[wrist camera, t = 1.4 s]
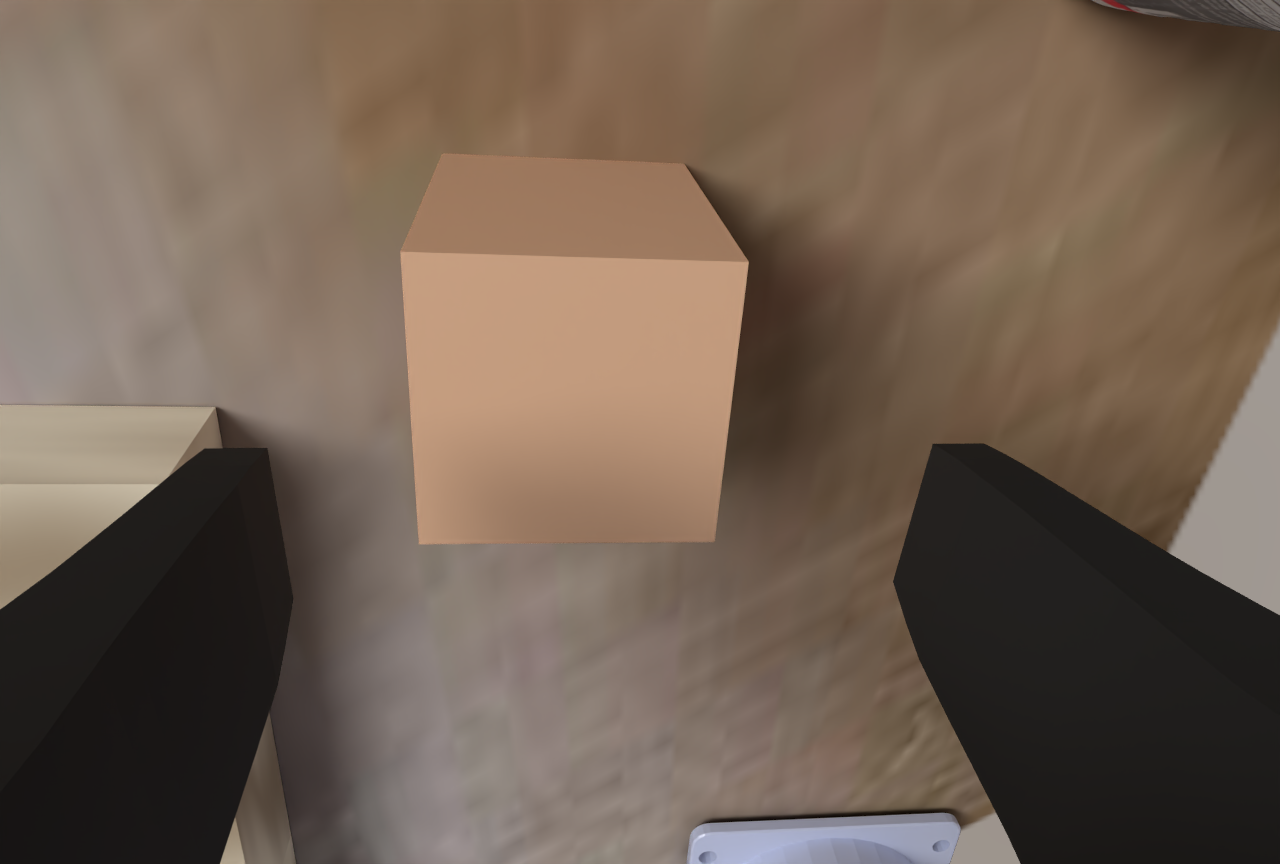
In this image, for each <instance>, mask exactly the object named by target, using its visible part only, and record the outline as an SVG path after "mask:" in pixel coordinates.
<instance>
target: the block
mask: <svg viewBox="0 0 1280 864" xmlns="http://www.w3.org/2000/svg"><path fill="white" fill-rule="evenodd" d="M748 265H749V262H748V260H747V259H746V257H745V255H744V254H743V252H742V251H741V249H740V248H739V246H738V245H737V243H736V242H735V240H734V239H733V237H732V236H731V234H730V233H729V231H728V230H727V228H726V227H725V225H724V224H723V222H722V221H721V219H720V217H719V216H718V214H717V213H716V211H715V210H714V208H713V207H712V205H711V204H710V202H709V201H708V199H707V198H706V196H705V195H704V193H703V192H702V190H701V189H700V187H699V186H698V184H697V183H696V181H695V180H694V178H693V176H692V175H691V173H690V172H689V170H688V169H687V167H686V166H685V164H679V163H656V162H632V161H609V160H585V159H562V158H538V157H515V156H491V155H468V154H444V153H442V155H441V158H440V160H439V162H438V165H437V167H436V169H435V172H434V174H433V176H432V179H431V181H430V183H429V186H428V188H427V191H426V193H425V195H424V198H423V200H422V202H421V205H420V207H419V209H418V212H417V214H416V216H415V219H414V221H413V223H412V226H411V228H410V231H409V233H408V235H407V238H406V240H405V242H404V245H403V247H402V249H401V268H402V284H403V299H404V315H405V331H406V347H407V363H408V378H409V394H410V410H411V426H412V442H413V457H414V473H415V489H416V505H417V521H418V536H419V544H513V543H643V542H715V534H716V526H717V518H718V509H719V501H720V493H721V485H722V477H723V469H724V461H725V452H726V444H727V436H728V428H729V420H730V412H731V403H732V395H733V387H734V379H735V371H736V363H737V355H738V346H739V338H740V330H741V322H742V314H743V306H744V298H745V289H746V281H747V273H748Z"/></svg>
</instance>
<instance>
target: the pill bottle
mask: <svg viewBox="0 0 1280 864" xmlns="http://www.w3.org/2000/svg"><path fill="white" fill-rule="evenodd" d="M1092 1H1094V2H1096V3H1098V4H1101V5H1104V6H1108V7H1112V8H1116V9H1121V10H1126V11H1132V12H1137V13H1142V14H1148V15H1154V16H1158V17H1172V18H1178V19H1184V20H1191V21H1200V22H1211V23H1218V24H1222V25H1230V26H1239V27H1248V28H1257V29H1264V30H1271V31H1278V32H1280V0H1092Z"/></svg>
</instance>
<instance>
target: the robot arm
mask: <svg viewBox="0 0 1280 864" xmlns="http://www.w3.org/2000/svg"><path fill="white" fill-rule="evenodd" d="M893 583H894V586H895V589H896V592H897V595H898V599H899V602H900V605H901V608H902V611H903V614H904V617H905V621H906V624H907V627H908V629H909V632H910V635H911V638H912V640H913V643H914V646H915V649H916V652H917V654H918V657H919V660H920V662H921V664H922V666H923V668H924V670H925V672H926V674H927V676H928V678H929V681H930V683H931V685H932V687H933V689H934V691H935V693H936V695H937V697H938V699H939V701H940V703H941V705H942V707H943V709H944V711H945V713H946V715H947V717H948V719H949V721H950V723H951V725H952V727H953V729H954V731H955V733H956V735H957V737H958V738H959V740H960V742H961V744H962V746H963V748H964V750H965V752H966V754H967V756H968V758H969V760H970V762H971V764H972V766H973V768H974V770H975V772H976V774H977V776H978V778H979V780H980V782H981V784H982V786H983V788H984V790H985V792H986V794H987V796H988V797H989V799H990V801H991V803H992V805H993V807H994V809H995V811H996V813H997V815H998V817H999V819H1000V821H1001V823H1002V825H1003V827H1004V829H1005V831H1006V833H1007V835H1008V837H1009V839H1010V841H1011V843H1012V846H1013V848H1014V850H1015V852H1016V854H1017V857H1018V859H1019V861H1020V863H1021V864H1280V615H1278V614H1276V613H1274V612H1272V611H1271V610H1269V609H1267V608H1265V607H1263V606H1261V605H1259V604H1258V603H1256V602H1254V601H1252V600H1250V599H1248V598H1247V597H1245V596H1243V595H1241V594H1240V593H1238V592H1236V591H1234V590H1232V589H1230V588H1229V587H1227V586H1225V585H1223V584H1222V583H1220V582H1218V581H1216V580H1214V579H1213V578H1211V577H1209V576H1207V575H1205V574H1203V573H1202V572H1200V571H1198V570H1197V569H1195V568H1193V567H1192V566H1190V565H1188V564H1186V563H1185V562H1183V561H1181V560H1180V559H1178V558H1176V557H1174V556H1173V555H1171V554H1169V553H1168V552H1166V551H1164V550H1163V549H1161V548H1159V547H1158V546H1156V545H1154V544H1153V543H1151V542H1149V541H1148V540H1146V539H1144V538H1143V537H1141V536H1139V535H1138V534H1136V533H1135V532H1133V531H1131V530H1130V529H1128V528H1126V527H1125V526H1123V525H1121V524H1120V523H1118V522H1117V521H1115V520H1113V519H1112V518H1110V517H1108V516H1107V515H1105V514H1104V513H1102V512H1100V511H1099V510H1097V509H1095V508H1094V507H1092V506H1091V505H1089V504H1087V503H1086V502H1084V501H1083V500H1081V499H1079V498H1078V497H1076V496H1074V495H1073V494H1071V493H1070V492H1068V491H1066V490H1065V489H1063V488H1061V487H1060V486H1058V485H1057V484H1055V483H1053V482H1052V481H1050V480H1048V479H1047V478H1045V477H1043V476H1042V475H1040V474H1038V473H1037V472H1035V471H1033V470H1032V469H1030V468H1028V467H1027V466H1025V465H1023V464H1021V463H1020V462H1018V461H1016V460H1014V459H1013V458H1011V457H1009V456H1007V455H1005V454H1003V453H1002V452H1000V451H998V450H996V449H994V448H992V447H990V446H988V445H985V444H933V445H932V449H931V452H930V456H929V459H928V463H927V466H926V470H925V473H924V476H923V480H922V483H921V487H920V490H919V494H918V497H917V501H916V504H915V508H914V511H913V515H912V518H911V521H910V525H909V528H908V532H907V535H906V539H905V542H904V546H903V549H902V553H901V556H900V560H899V563H898V566H897V570H896V573H895V577H894V580H893ZM292 603H293V594H292V589H291V583H290V577H289V571H288V566H287V560H286V554H285V548H284V542H283V537H282V531H281V525H280V519H279V514H278V508H277V502H276V496H275V491H274V485H273V479H272V473H271V467H270V462H269V456H268V450H267V448H204V449H203V450H202V451H200V452H199V453H198V454H196V455H195V456H194V457H192V458H191V459H190V460H188V461H187V462H186V463H185V464H183V465H182V466H181V467H180V468H179V469H177V470H176V471H175V472H174V473H172V474H171V475H170V476H169V477H168V478H166V479H165V480H164V481H163V482H161V483H160V484H159V485H158V486H157V487H155V488H154V489H153V490H152V491H151V492H149V493H148V494H147V495H146V496H145V497H143V498H142V499H141V500H140V501H139V502H137V503H136V504H135V505H134V506H133V507H131V508H130V509H129V510H128V511H127V512H125V513H124V514H123V515H122V516H120V517H119V518H118V519H117V520H116V521H114V522H113V523H112V524H111V525H109V526H108V527H107V528H106V529H104V530H103V531H102V532H101V533H99V534H98V535H97V536H96V537H94V538H93V539H92V540H91V541H89V542H88V543H87V544H86V545H84V546H83V547H82V548H81V549H79V550H78V551H77V552H76V553H74V554H73V555H72V556H71V557H70V558H68V559H67V560H66V561H65V562H63V563H62V564H61V565H60V566H58V567H57V568H56V569H54V570H53V571H52V572H50V573H49V574H48V575H46V576H45V577H44V578H42V579H41V580H40V581H38V582H37V583H35V584H34V585H33V586H31V587H30V588H29V589H27V590H26V591H25V592H23V593H22V594H21V595H19V596H18V597H16V598H15V599H14V600H12V601H11V602H10V603H8V604H7V605H6V606H4V607H3V608H1V609H0V864H220V862H221V859H222V856H223V853H224V850H225V847H226V844H227V841H228V838H229V835H230V832H231V828H232V825H233V822H234V819H235V816H236V813H237V810H238V807H239V804H240V801H241V798H242V795H243V792H244V789H245V786H246V783H247V779H248V776H249V773H250V770H251V767H252V764H253V761H254V758H255V755H256V752H257V749H258V746H259V742H260V739H261V736H262V733H263V730H264V727H265V724H266V720H267V717H268V714H269V711H270V708H271V705H272V701H273V698H274V695H275V692H276V688H277V685H278V680H279V675H280V670H281V665H282V660H283V654H284V649H285V644H286V638H287V632H288V626H289V621H290V615H291V609H292ZM960 832H961V828H960V826H959V823H958V821H957V819H956V818H955V816H954V815H952V814H950V813H924V814H902V815H879V816H857V817H834V818H812V819H789V820H766V821H744V822H721V823H706V824H702V825H700V826H698V827H696V828H695V829H694V830H693V831H692V833H691V835H690V841H689V848H688V856H687V864H950V862H951V859H952V856H953V853H954V850H955V847H956V844H957V841H958V838H959V835H960Z"/></svg>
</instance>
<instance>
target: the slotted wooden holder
mask: <svg viewBox="0 0 1280 864" xmlns="http://www.w3.org/2000/svg"><path fill="white" fill-rule="evenodd" d="M204 448H223V447H222V441H221V435H220V430H219V424H218V418H217V413H216V407H163V406H61V405H0V609H1V608H3V607H4V606H6V605H7V604H8V603H10V602H11V601H12V600H14V599H15V598H16V597H18V596H19V595H21V594H22V593H23V592H25V591H26V590H27V589H29V588H30V587H31V586H33V585H34V584H35V583H37V582H38V581H40V580H41V579H42V578H44V577H45V576H46V575H48V574H49V573H50V572H52V571H53V570H54V569H56V568H57V567H58V566H60V565H61V564H62V563H63V562H65V561H66V560H67V559H68V558H70V557H71V556H72V555H73V554H74V553H76V552H77V551H78V550H79V549H81V548H82V547H83V546H84V545H86V544H87V543H88V542H89V541H91V540H92V539H93V538H94V537H96V536H97V535H98V534H99V533H101V532H102V531H103V530H104V529H106V528H107V527H108V526H109V525H111V524H112V523H113V522H114V521H116V520H117V519H118V518H119V517H120V516H122V515H123V514H124V513H125V512H127V511H128V510H129V509H130V508H131V507H133V506H134V505H135V504H136V503H137V502H139V501H140V500H141V499H142V498H143V497H145V496H146V495H147V494H148V493H149V492H151V491H152V490H153V489H154V488H155V487H157V486H158V485H159V484H160V483H161V482H163V481H164V480H165V479H166V478H168V477H169V476H170V475H171V474H172V473H174V472H175V471H176V470H177V469H179V468H180V467H181V466H182V465H183V464H185V463H186V462H187V461H188V460H190V459H191V458H192V457H194V456H195V455H196V454H198V453H199V452H200V451H202V450H203V449H204ZM220 864H296V860H295V854H294V848H293V843H292V837H291V831H290V826H289V820H288V814H287V809H286V803H285V797H284V792H283V786H282V780H281V775H280V769H279V764H278V758H277V752H276V747H275V741H274V735H273V730H272V724H271V718H270V713H269V714H268V717H267V720H266V724H265V727H264V730H263V733H262V736H261V739H260V742H259V746H258V749H257V752H256V755H255V758H254V761H253V764H252V767H251V770H250V773H249V776H248V779H247V783H246V786H245V789H244V792H243V795H242V798H241V801H240V804H239V807H238V810H237V813H236V816H235V819H234V822H233V825H232V828H231V832H230V835H229V838H228V841H227V844H226V847H225V850H224V853H223V856H222V859H221V862H220Z"/></svg>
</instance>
